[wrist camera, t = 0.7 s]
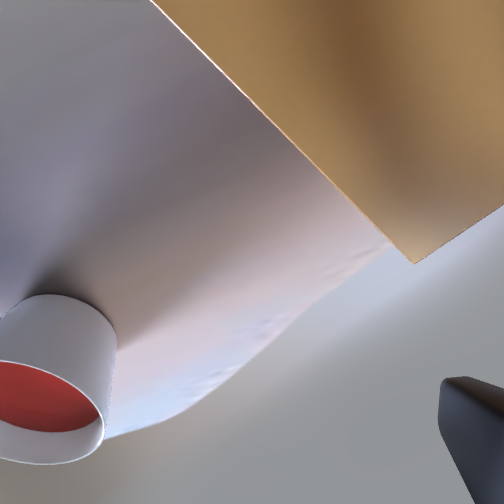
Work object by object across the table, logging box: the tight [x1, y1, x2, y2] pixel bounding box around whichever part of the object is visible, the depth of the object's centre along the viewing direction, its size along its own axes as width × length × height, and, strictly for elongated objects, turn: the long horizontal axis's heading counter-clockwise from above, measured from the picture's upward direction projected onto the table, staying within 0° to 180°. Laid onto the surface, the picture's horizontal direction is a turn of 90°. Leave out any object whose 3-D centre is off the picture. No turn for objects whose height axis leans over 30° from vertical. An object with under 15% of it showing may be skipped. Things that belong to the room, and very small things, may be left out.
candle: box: [0, 294, 117, 465], centre depth 25 cm, size 9×9×6 cm
